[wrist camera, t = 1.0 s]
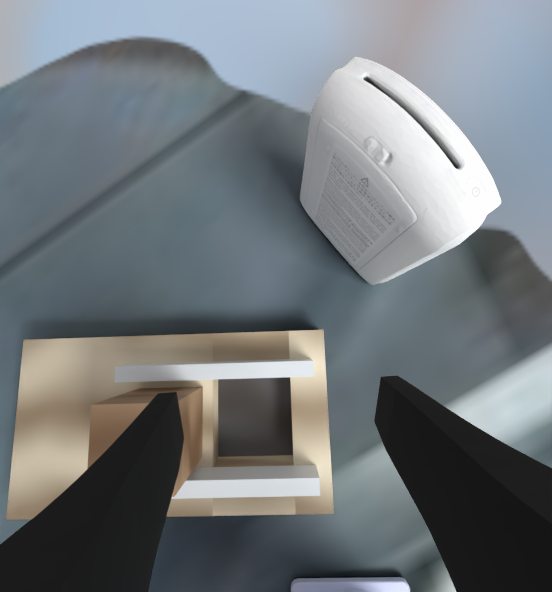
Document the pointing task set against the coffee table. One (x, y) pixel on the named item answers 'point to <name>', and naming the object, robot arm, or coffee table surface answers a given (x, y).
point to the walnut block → (126, 407)
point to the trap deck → (171, 349)
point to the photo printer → (390, 173)
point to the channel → (234, 478)
